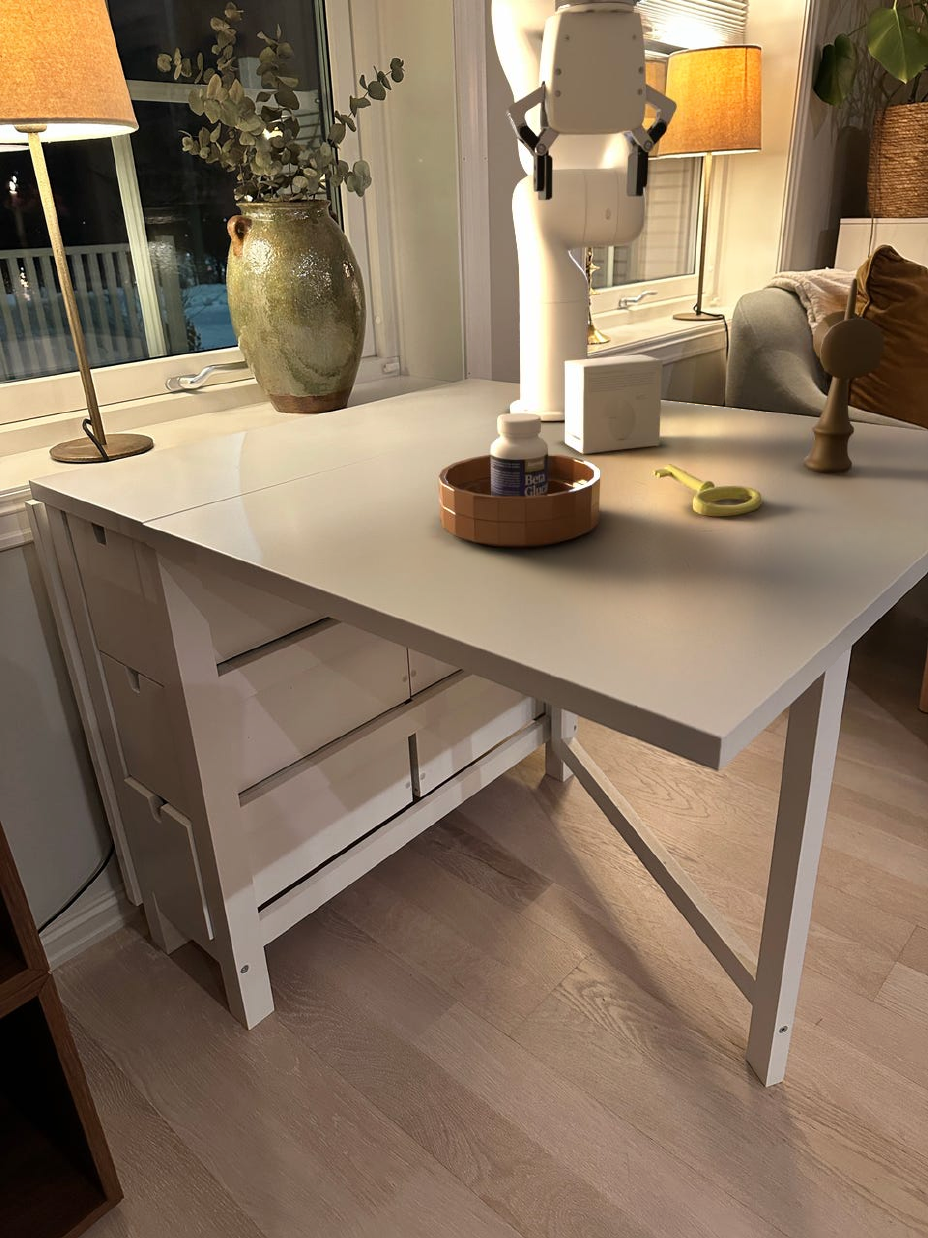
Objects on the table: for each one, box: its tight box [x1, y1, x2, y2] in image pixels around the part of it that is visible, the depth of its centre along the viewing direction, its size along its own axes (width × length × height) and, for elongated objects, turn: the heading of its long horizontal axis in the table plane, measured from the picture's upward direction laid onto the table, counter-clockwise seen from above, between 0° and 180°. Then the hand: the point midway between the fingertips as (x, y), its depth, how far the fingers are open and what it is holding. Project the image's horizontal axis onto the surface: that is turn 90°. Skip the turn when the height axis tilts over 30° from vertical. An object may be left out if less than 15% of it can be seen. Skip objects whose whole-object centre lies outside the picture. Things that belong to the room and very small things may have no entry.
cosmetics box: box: [564, 353, 664, 455], centre depth 109 cm, size 10×6×10 cm, turn 105°
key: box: [652, 463, 762, 517], centre depth 90 cm, size 7×12×2 cm, turn 44°
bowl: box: [437, 453, 601, 548], centre depth 85 cm, size 15×15×5 cm
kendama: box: [803, 278, 885, 474], centre depth 94 cm, size 6×10×20 cm, turn 167°
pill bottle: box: [490, 412, 549, 496], centre depth 84 cm, size 5×5×10 cm
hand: (590, 197), depth 92 cm, fingers open, 9 cm apart
